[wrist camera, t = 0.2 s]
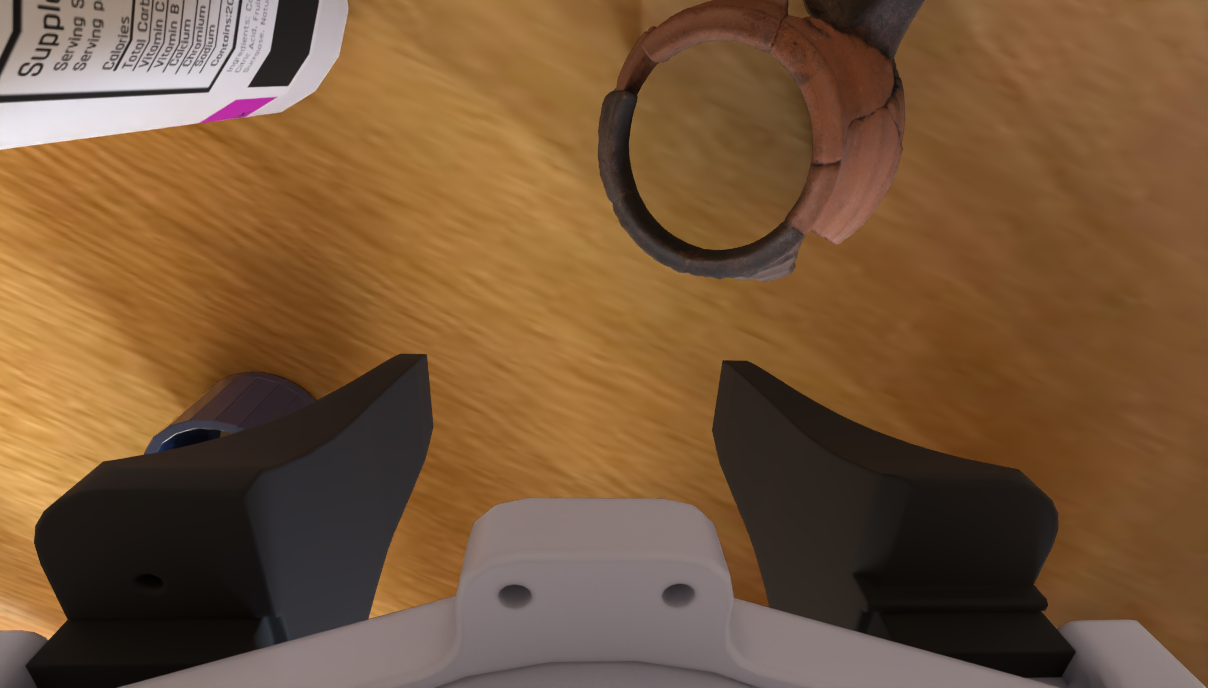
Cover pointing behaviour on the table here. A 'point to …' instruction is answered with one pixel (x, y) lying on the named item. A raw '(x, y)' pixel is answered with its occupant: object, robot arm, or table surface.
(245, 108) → the supplement can
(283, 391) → the cup
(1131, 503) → the table surface
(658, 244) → the pottery mug
